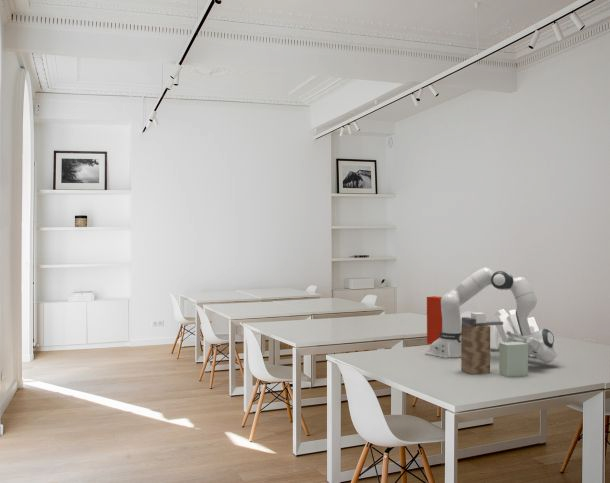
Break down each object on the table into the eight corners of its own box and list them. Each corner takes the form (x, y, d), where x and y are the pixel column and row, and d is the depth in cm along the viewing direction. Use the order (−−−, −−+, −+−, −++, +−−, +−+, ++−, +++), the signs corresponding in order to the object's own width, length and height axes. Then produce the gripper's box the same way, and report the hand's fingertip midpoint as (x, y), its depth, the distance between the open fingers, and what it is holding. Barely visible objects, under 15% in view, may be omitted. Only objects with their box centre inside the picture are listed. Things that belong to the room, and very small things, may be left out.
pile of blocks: (554, 363, 360) (545, 310, 376) (538, 351, 339) (529, 295, 355) (500, 371, 379) (493, 320, 395) (481, 360, 358) (475, 307, 375)
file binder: (446, 347, 383) (446, 299, 383) (426, 343, 397) (426, 296, 397) (454, 346, 388) (454, 298, 388) (434, 342, 402) (434, 296, 402)
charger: (498, 323, 319) (498, 311, 319) (504, 325, 315) (504, 312, 315) (470, 324, 315) (470, 312, 315) (476, 326, 310) (476, 313, 310)
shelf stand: (480, 369, 319) (480, 316, 319) (490, 373, 310) (490, 318, 310) (461, 370, 315) (461, 317, 315) (470, 374, 307) (470, 319, 307)
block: (519, 372, 311) (519, 341, 311) (527, 375, 305) (527, 344, 305) (499, 373, 308) (499, 342, 308) (507, 376, 301) (507, 345, 301)
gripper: (521, 337, 333) (503, 325, 329) (545, 343, 313) (526, 331, 310) (516, 346, 332) (498, 335, 329) (540, 353, 312) (521, 342, 309)
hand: (512, 333), depth 319 cm, fingers open, 8 cm apart
